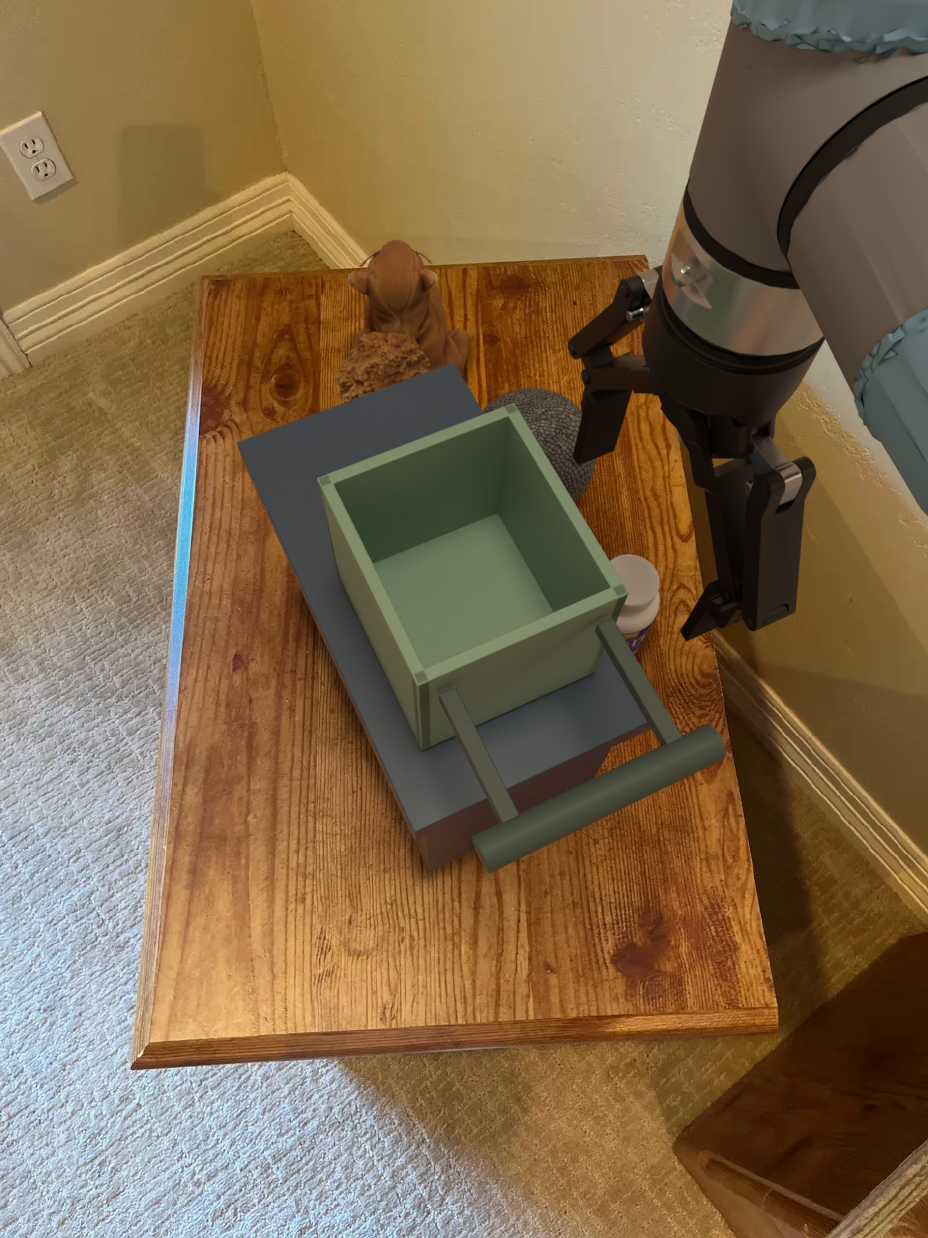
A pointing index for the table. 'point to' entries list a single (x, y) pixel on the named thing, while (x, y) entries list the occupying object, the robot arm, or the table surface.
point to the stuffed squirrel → (398, 324)
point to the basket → (493, 611)
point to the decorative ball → (552, 432)
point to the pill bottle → (637, 597)
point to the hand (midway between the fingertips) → (645, 537)
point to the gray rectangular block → (419, 779)
